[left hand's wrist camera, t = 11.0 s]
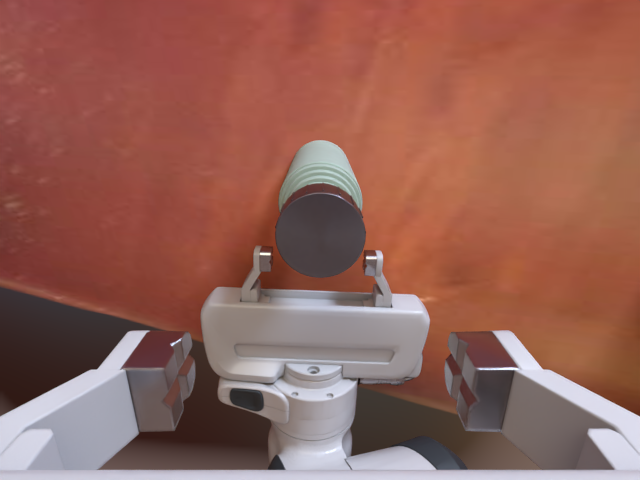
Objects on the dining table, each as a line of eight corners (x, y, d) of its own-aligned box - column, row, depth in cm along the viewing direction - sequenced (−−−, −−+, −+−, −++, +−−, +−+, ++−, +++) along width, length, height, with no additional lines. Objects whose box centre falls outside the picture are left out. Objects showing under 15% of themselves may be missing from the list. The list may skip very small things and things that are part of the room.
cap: (329, 275, 22) (330, 294, 20) (262, 232, 21) (256, 247, 19) (378, 214, 21) (385, 227, 19) (309, 165, 20) (308, 173, 18)
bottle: (326, 208, 37) (332, 300, 21) (280, 176, 36) (246, 246, 19) (360, 162, 36) (396, 222, 19) (313, 128, 35) (306, 158, 18)
